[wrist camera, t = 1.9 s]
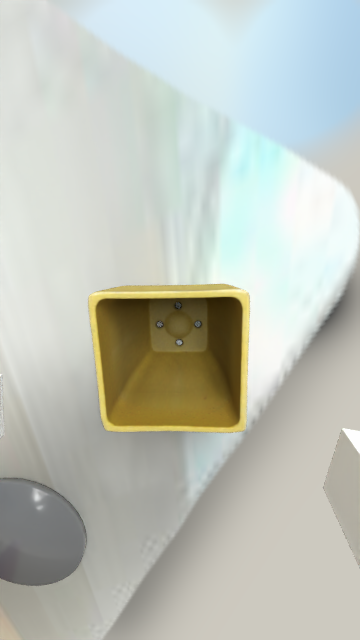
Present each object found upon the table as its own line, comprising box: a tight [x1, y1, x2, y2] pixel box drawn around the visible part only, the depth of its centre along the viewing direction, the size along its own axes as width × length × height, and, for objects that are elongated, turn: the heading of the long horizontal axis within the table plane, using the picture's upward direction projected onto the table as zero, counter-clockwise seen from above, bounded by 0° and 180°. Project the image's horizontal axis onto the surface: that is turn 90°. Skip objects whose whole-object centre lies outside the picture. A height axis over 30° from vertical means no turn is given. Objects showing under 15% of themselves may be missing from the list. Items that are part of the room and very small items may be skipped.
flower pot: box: [88, 284, 250, 433], centre depth 22 cm, size 9×9×9 cm
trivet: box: [0, 478, 86, 586], centre depth 33 cm, size 14×14×1 cm
